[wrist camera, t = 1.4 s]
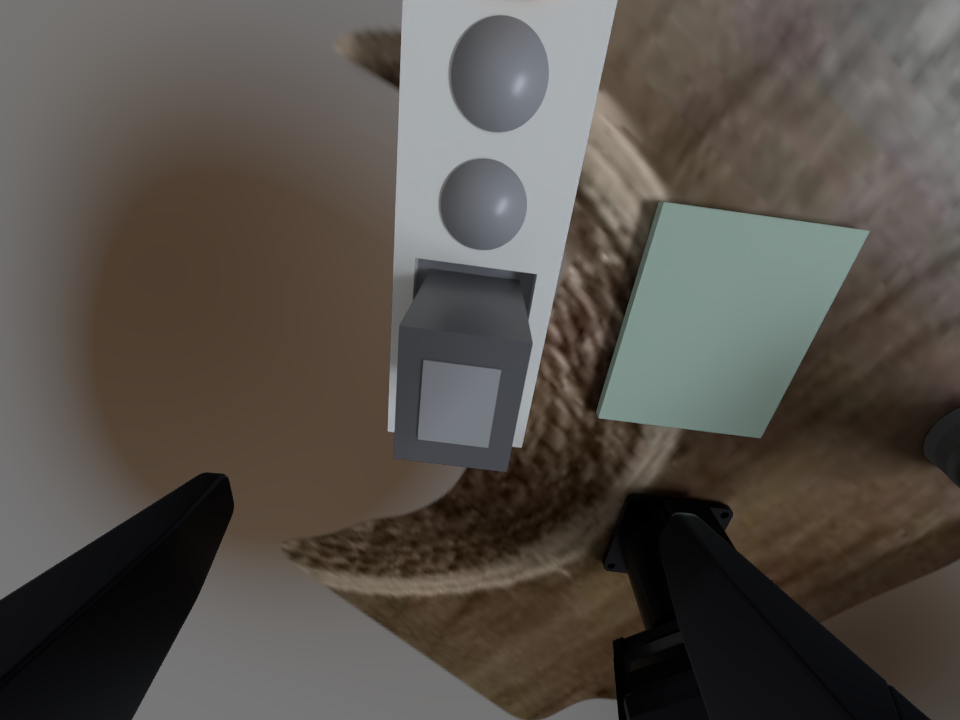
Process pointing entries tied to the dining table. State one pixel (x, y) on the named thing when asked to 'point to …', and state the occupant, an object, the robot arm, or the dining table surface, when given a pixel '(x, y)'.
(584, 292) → the dining table surface
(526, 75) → the power strip
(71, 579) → the robot arm
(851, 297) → the dining table surface
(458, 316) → the block
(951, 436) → the beverage cup
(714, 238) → the mat
